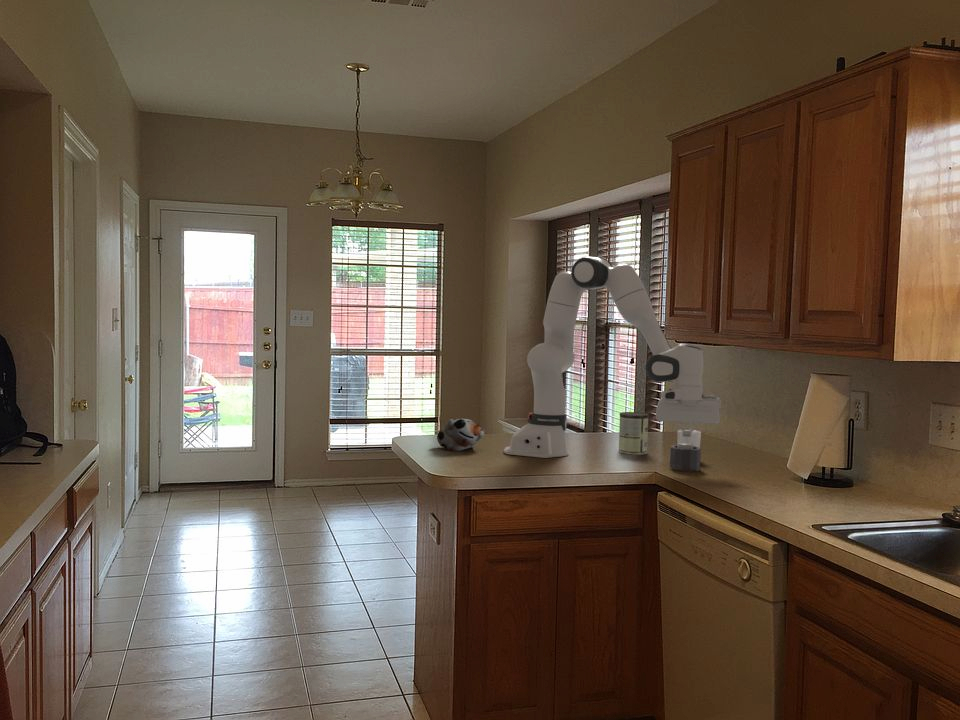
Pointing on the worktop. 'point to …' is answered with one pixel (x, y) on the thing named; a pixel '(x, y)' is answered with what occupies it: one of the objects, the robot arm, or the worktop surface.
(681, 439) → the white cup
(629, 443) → the coffee can
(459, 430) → the lucky cat figurine
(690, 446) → the cap
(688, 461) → the dark grey cylinder
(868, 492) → the worktop surface
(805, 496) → the worktop surface
